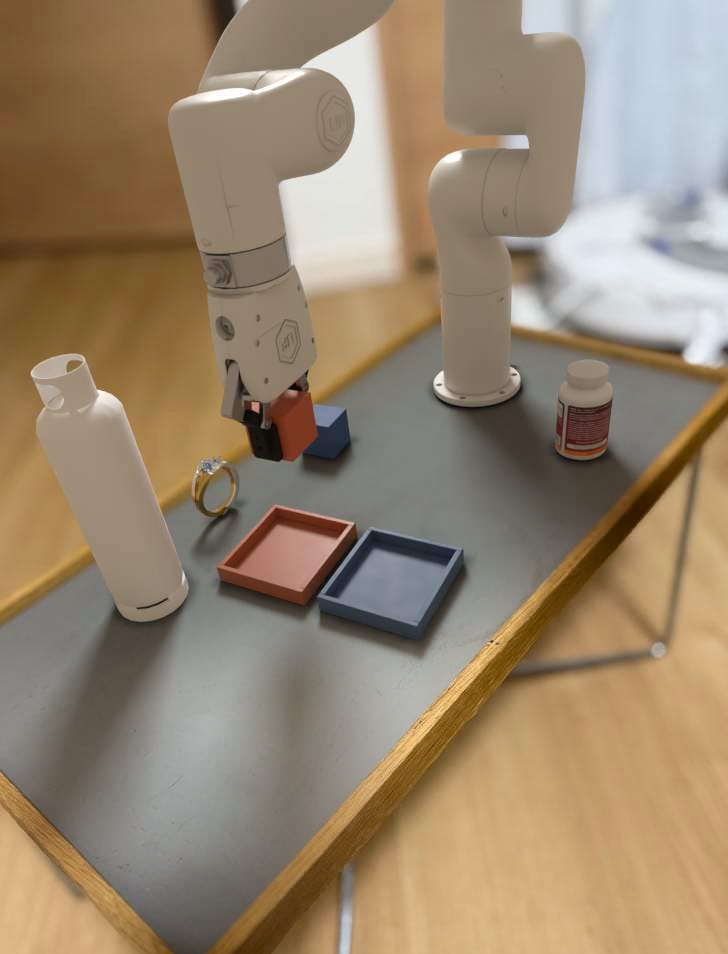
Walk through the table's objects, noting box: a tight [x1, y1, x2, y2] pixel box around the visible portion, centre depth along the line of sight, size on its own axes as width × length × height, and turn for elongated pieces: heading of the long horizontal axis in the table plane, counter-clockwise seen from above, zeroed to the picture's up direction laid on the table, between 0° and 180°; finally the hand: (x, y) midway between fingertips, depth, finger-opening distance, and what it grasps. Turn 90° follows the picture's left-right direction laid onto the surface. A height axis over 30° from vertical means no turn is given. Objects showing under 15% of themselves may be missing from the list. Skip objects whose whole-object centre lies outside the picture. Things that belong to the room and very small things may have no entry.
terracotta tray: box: [216, 503, 358, 607], centre depth 80 cm, size 12×11×2 cm
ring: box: [191, 454, 241, 518], centre depth 86 cm, size 7×3×8 cm, turn 137°
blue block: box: [302, 403, 352, 460], centre depth 96 cm, size 5×5×5 cm
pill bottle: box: [554, 359, 614, 461], centre depth 85 cm, size 6×6×11 cm
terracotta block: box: [244, 389, 318, 463], centre depth 70 cm, size 5×5×5 cm
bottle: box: [30, 353, 190, 623], centre depth 70 cm, size 8×8×28 cm
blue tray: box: [316, 525, 465, 641], centre depth 74 cm, size 12×11×2 cm
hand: (283, 441), depth 71 cm, fingers closed on terracotta block, 5 cm apart
